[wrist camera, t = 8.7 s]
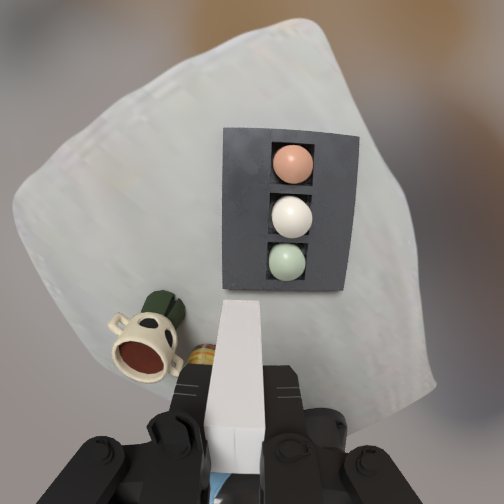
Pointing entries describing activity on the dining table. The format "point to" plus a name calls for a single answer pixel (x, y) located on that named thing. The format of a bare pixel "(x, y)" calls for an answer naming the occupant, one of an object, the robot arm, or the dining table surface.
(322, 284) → the panel
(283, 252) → the sage button
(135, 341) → the character mug
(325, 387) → the dining table surface
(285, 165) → the terracotta button
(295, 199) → the cream button
